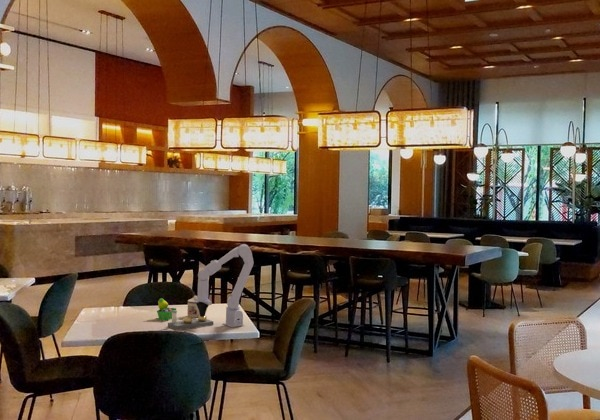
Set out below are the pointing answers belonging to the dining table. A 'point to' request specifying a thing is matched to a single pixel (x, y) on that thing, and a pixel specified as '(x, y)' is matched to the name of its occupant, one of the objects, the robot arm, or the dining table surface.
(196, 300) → the robot arm
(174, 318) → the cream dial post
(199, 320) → the brass knob
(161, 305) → the fruit basket
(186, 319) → the brass knob
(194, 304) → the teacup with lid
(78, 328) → the dining table surface
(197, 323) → the slate panel
